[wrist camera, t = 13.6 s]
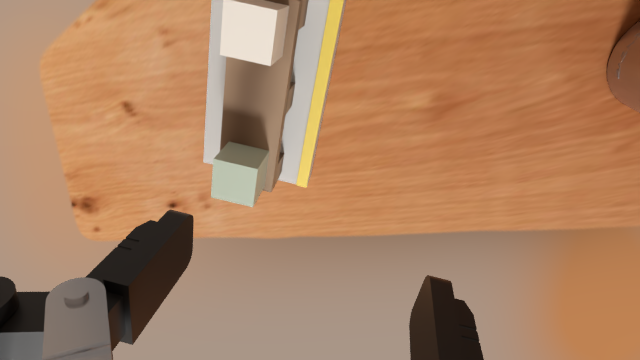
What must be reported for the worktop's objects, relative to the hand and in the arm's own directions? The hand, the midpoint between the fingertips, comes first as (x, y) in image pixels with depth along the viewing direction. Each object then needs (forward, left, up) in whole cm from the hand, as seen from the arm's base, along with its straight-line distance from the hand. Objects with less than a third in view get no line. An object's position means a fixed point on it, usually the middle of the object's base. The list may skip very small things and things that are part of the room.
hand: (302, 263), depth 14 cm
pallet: (+8, +3, -28) cm, 30 cm away
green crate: (+8, +10, -24) cm, 27 cm away
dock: (+8, +3, -31) cm, 33 cm away
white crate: (+8, -3, -24) cm, 25 cm away
